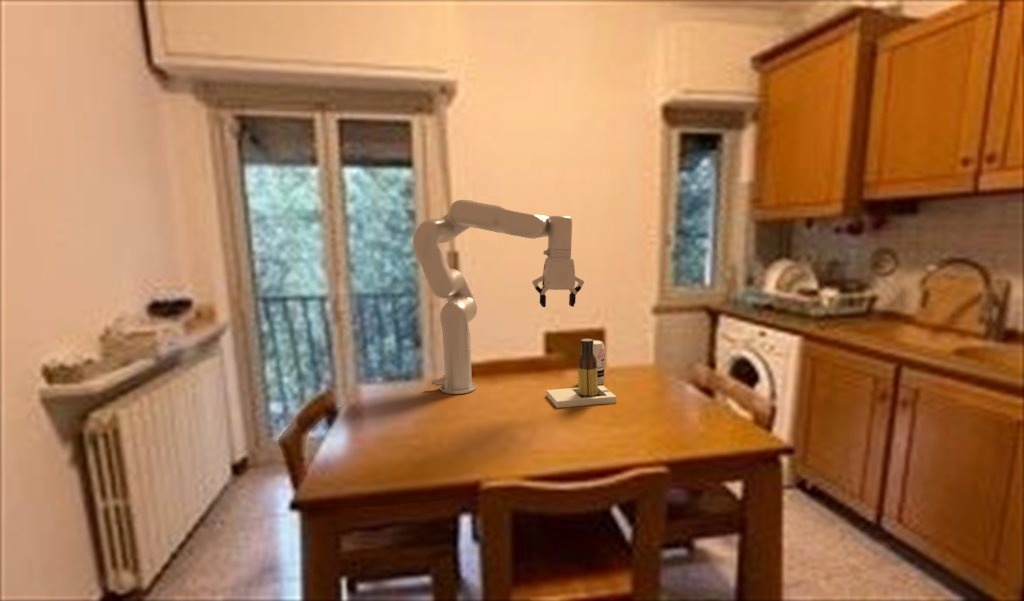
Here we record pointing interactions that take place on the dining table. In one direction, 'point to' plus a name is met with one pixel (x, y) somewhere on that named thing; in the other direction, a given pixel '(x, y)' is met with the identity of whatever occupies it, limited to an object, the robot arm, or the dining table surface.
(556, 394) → the board
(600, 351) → the supplement can
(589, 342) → the sauce bottle
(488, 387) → the dining table surface
